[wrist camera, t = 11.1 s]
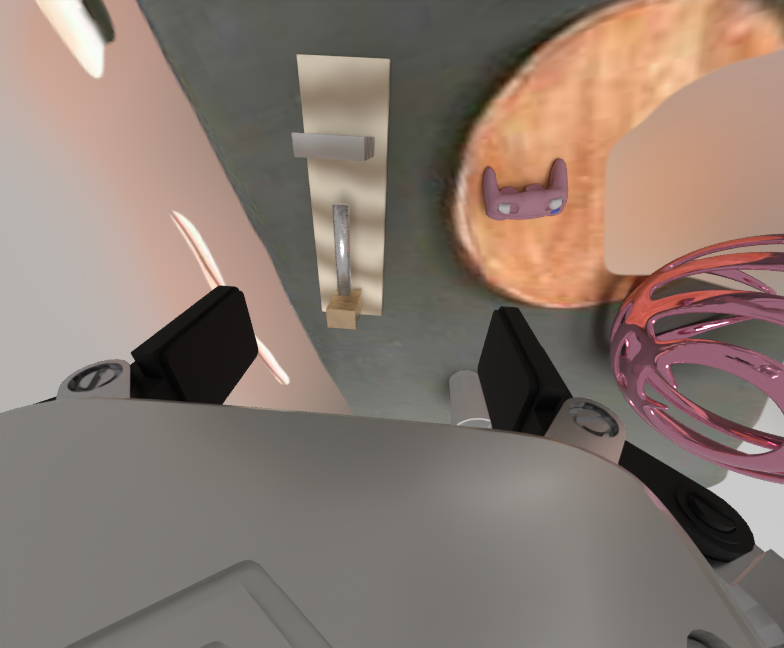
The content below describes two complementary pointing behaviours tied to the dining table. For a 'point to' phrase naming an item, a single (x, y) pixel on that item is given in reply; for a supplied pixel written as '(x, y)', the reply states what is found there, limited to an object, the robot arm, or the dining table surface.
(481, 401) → the cup
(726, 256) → the spiral basket
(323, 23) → the dining table surface
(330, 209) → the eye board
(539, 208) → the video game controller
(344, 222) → the peg
